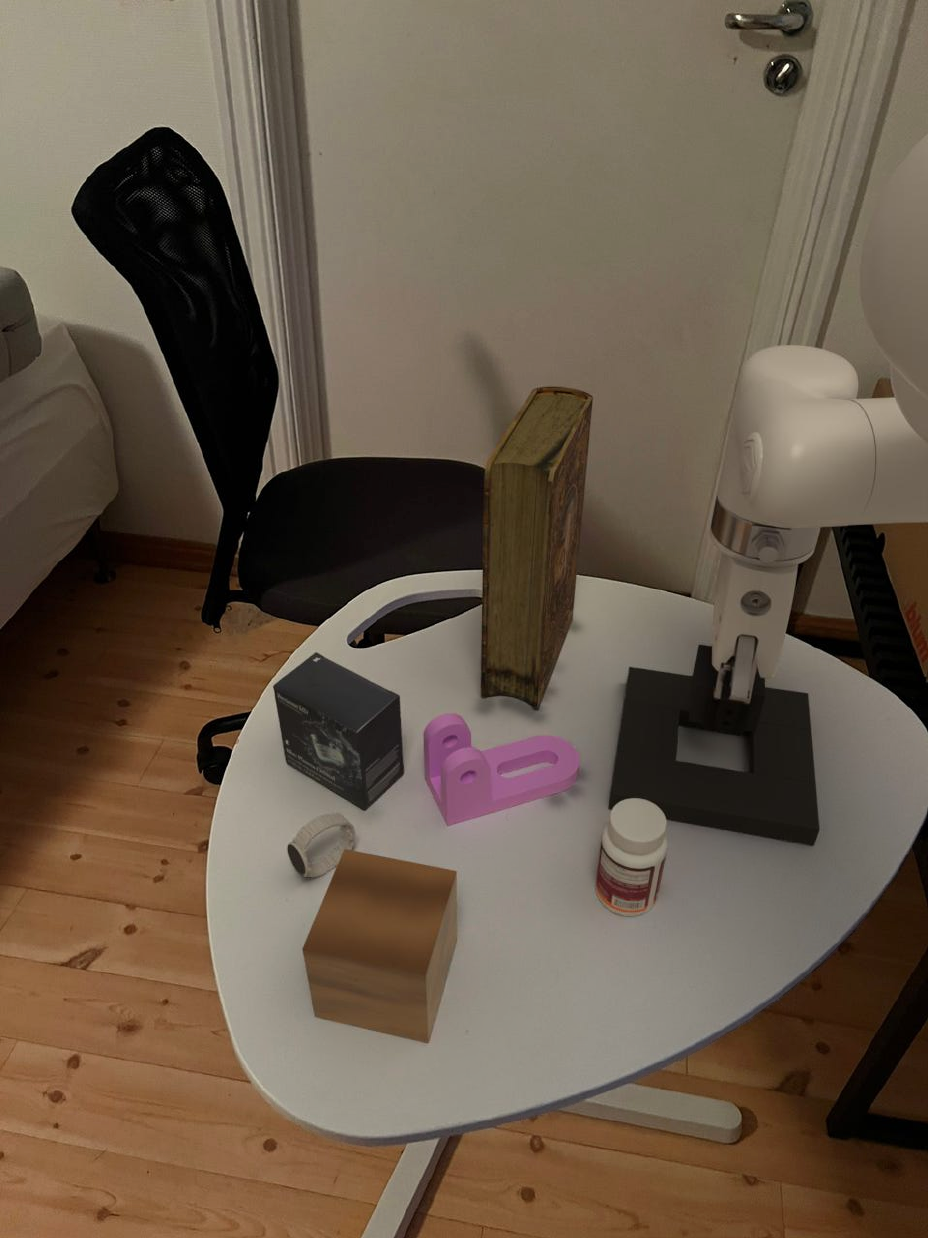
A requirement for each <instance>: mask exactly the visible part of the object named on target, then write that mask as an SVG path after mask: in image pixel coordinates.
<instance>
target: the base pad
mask: <svg viewBox="0 0 928 1238" xmlns="http://www.w3.org/2000/svg"><path fill="white" fill-rule="evenodd" d="M691 682H692V675H688V674H683V673H674V672H669V671H668V672H667V671H662V670H656V669H655V670H654V669H649V668H641V667H634V666H629V667H628V674H627V679H626V688H625V694H624V699H623V700H624V701H623V708H622V713H621V720H620V727H619V734H618V741H617V748H616V754H615V760H614V768H613V775H612V781H611V788H610V795H609V801H608V807H607V808H608V810H610V811H611V810H612V809H613V807H614V806H615V805H616V804H617V803H619V802H620V801H622V800H625V799H630V798H640V799H644V800H647V801H650V802H652V803H654V804H655V805H657V806H658V807H659V808H660V809H661V810H662V812H663V813H664V815H665V817H666V821H672V822H677V823H683V824H689V825H695V826H698V827H699V826H701V827H705V828H710V829H717V830H721V831H722V830H723V831H728V832H734V833H740V834H746V835H751V836H756V837H762V838H768V839H773V840H780V841H785V842H790V843H796V844H802V845H805V846H806V845H807V846H812V847H813V846H815V844H816V840H817V838H818V835H819V832H820V819H819V810H818V809H819V808H818V807H819V806H818V795H817V783H816V774H815V773H816V772H815V770H816V769H815V761H814V759H815V758H814V747H813V735H812V723H811V711H810V709H811V708H810V698H809V696H810V695H809V692H801V691H795V690H788V689H781V688H775V687H768V686H765V700H764V704H763V708H762V711H761V715H760V719H759V722H758V726H757V730H756V732H751V731H745V730H744V732H743V734H742V735H739V736H740V737H746V738H748V771H743V770H736V769H730V768H724V767H718V766H712V765H706V764H702V763H701V764H700V763H695V762H687V761H682V760H677V752H678V741H679V740H678V738H679V728H680V727H684V728H691V729H696V730H702V731H706V730H705V729H703V724H701V723H695V722H689V710H690V696H691Z"/></svg>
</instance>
